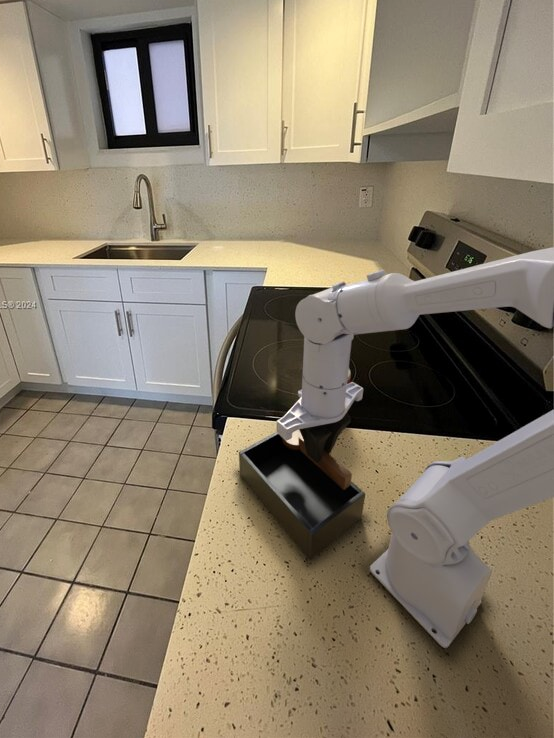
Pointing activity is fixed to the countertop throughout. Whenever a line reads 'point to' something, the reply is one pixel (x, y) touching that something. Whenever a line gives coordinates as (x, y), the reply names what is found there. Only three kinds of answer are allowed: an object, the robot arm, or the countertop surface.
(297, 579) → the countertop surface
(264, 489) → the tin
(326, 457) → the tan long slender bar
